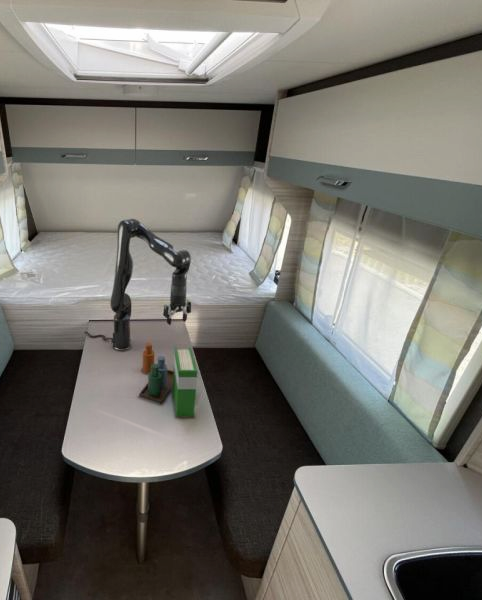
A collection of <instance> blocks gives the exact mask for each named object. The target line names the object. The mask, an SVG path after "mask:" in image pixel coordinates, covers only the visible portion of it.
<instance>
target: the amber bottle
mask: <svg viewBox="0 0 482 600" xmlns="http://www.w3.org/2000/svg"><path fill="white" fill-rule="evenodd" d="M144 347H145V348H144V350H143V351H142V372H143V373H145V374H149V373H150V372H151V365H152V364H155V355H156V353H155V351H154V350H153V343H152V342H146V343H145V345H144Z"/></svg>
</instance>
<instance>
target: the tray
mask: <svg viewBox="0 0 482 600" xmlns="http://www.w3.org/2000/svg"><path fill="white" fill-rule="evenodd" d="M173 372H174V370H171V369H167V387H166V388H165V389H162V390H161V396H160V397H159V398H154V397H151V396H149V395H148V382H147V383H146V385H144V387H143V388H142V389H141V391H140V393H139V394H138V395H139V396H138V397H140V398H143V399H146V400H149V401H152V402H154V403H157V404H160V405H162V404H163V402H164V401H165V400H166V398H167V396H168V395H169V393H171V390H173Z"/></svg>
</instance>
